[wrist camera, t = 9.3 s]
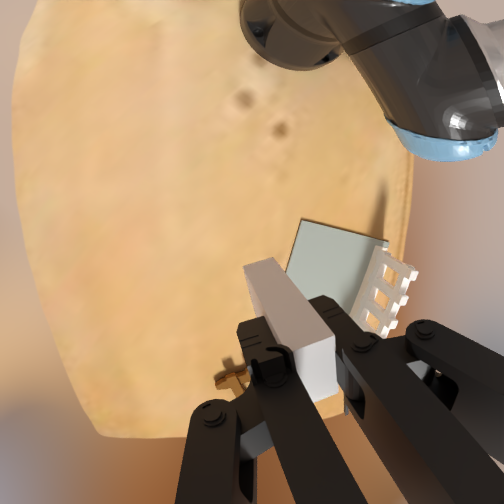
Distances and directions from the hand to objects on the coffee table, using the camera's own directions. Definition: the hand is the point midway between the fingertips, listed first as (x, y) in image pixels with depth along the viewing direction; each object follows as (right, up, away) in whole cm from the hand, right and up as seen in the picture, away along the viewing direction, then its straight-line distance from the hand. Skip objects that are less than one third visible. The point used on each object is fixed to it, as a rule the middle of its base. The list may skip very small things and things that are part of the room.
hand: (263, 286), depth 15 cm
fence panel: (+18, -6, +34) cm, 39 cm away
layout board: (+11, -7, +33) cm, 36 cm away
